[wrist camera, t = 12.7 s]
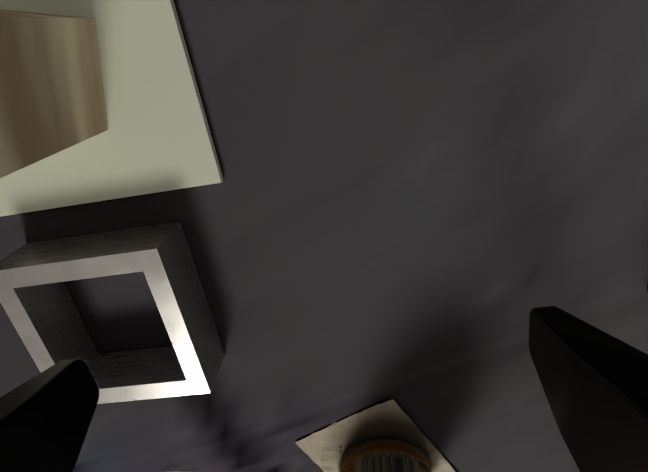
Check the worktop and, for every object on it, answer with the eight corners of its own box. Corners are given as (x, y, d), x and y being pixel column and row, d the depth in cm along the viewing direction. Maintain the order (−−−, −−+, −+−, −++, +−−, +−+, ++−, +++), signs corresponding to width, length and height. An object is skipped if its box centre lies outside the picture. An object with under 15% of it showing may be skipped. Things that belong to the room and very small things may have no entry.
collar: (180, 220, 22) (156, 248, 20) (225, 354, 26) (210, 393, 23) (25, 243, 23) (-17, 272, 21) (89, 368, 27) (60, 407, 24)
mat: (135, -134, 16) (130, -138, 16) (223, 179, 21) (221, 182, 21) (-149, -64, 18) (-160, -65, 17) (-4, 214, 23) (-9, 217, 22)
